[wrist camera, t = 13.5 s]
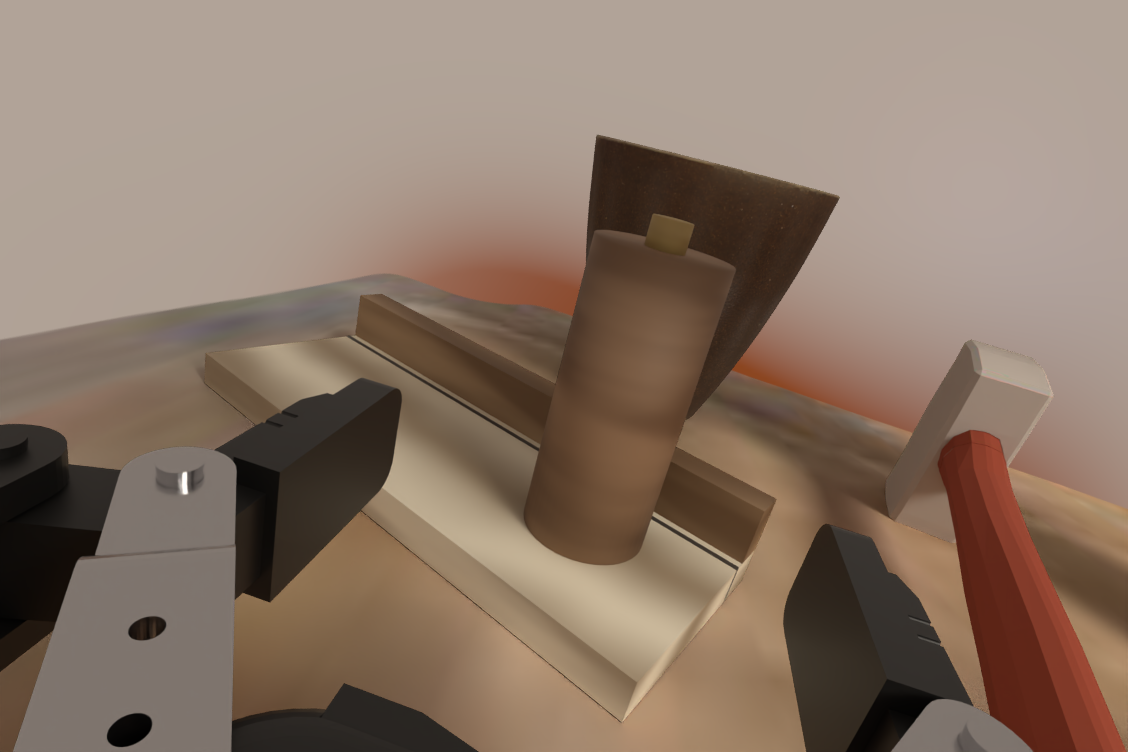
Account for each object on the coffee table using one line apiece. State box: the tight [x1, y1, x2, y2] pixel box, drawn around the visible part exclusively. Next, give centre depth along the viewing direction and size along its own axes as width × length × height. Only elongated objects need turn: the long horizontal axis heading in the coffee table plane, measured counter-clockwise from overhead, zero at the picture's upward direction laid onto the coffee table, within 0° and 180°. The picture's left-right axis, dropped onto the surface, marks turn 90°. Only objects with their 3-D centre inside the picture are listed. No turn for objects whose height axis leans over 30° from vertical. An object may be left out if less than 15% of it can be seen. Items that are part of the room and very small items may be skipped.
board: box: [205, 294, 776, 722], centre depth 28 cm, size 10×25×4 cm, turn 53°
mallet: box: [885, 340, 1126, 752], centre depth 24 cm, size 11×4×30 cm
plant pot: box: [586, 135, 840, 420], centre depth 40 cm, size 15×15×16 cm
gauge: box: [523, 214, 736, 565], centre depth 24 cm, size 10×5×12 cm, turn 168°
